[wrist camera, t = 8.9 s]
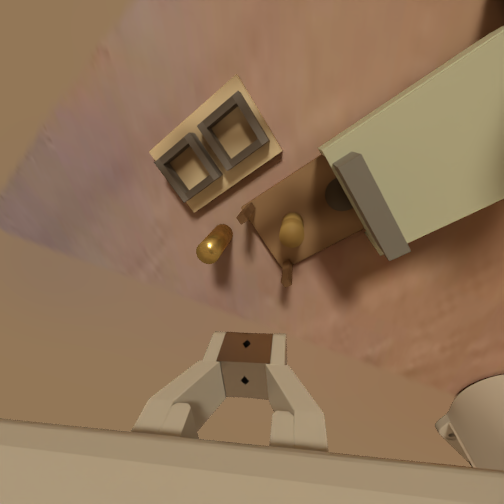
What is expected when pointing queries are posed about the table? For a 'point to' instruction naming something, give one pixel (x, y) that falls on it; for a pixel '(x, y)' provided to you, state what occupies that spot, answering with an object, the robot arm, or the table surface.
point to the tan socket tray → (216, 146)
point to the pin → (214, 244)
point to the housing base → (302, 215)
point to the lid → (427, 150)
